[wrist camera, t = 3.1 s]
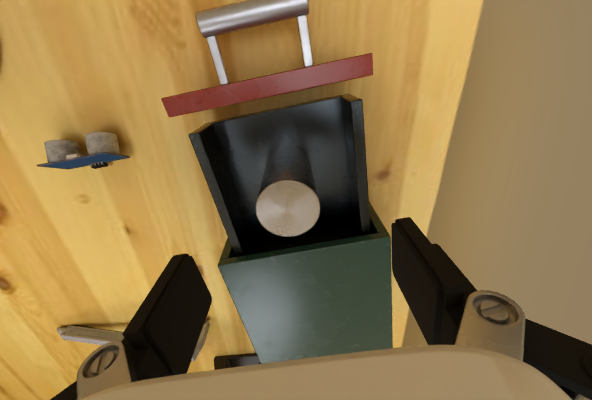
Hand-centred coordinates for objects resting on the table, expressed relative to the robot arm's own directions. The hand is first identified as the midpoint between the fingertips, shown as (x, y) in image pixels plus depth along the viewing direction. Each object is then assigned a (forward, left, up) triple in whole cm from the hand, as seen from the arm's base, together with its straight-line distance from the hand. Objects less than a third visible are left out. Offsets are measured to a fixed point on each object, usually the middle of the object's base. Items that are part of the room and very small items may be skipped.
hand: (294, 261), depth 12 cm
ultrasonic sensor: (-5, -17, -14) cm, 23 cm away
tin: (0, 0, -12) cm, 12 cm away
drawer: (-2, 0, -13) cm, 13 cm away
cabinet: (+14, 0, -14) cm, 20 cm away
